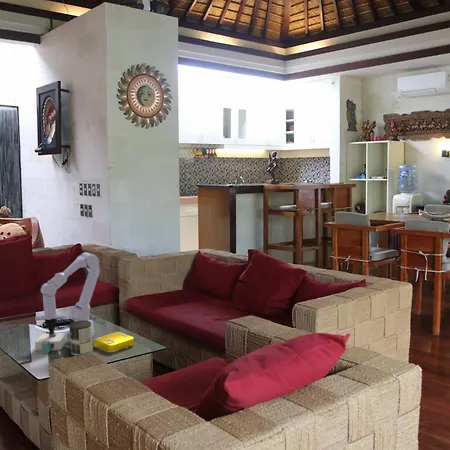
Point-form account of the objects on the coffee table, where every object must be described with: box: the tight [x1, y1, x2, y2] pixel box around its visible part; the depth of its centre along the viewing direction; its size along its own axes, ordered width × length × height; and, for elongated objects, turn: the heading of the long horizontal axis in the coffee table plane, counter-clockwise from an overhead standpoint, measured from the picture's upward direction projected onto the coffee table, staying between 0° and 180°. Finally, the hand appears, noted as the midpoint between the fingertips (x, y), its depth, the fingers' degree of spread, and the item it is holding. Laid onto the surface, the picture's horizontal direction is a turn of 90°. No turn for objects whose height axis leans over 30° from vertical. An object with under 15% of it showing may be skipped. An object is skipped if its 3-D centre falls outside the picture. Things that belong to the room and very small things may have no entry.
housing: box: [34, 332, 68, 352], centre depth 278 cm, size 12×12×4 cm
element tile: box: [93, 331, 135, 352], centre depth 276 cm, size 15×15×5 cm
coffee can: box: [68, 320, 94, 357], centre depth 268 cm, size 10×10×14 cm
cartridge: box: [41, 341, 53, 355], centre depth 274 cm, size 14×3×5 cm, turn 0°
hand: (52, 333), depth 280 cm, fingers closed, pressing on plunger
